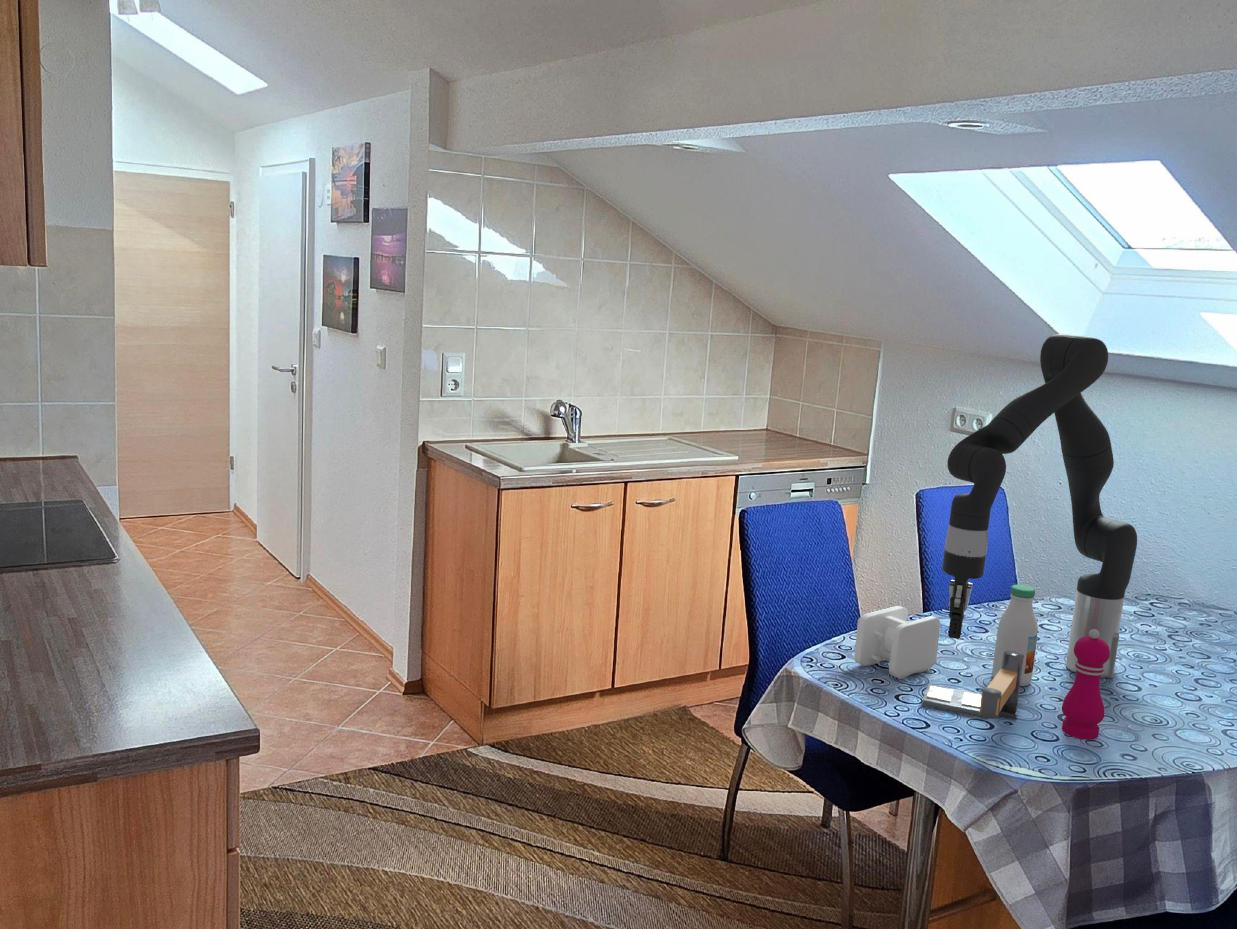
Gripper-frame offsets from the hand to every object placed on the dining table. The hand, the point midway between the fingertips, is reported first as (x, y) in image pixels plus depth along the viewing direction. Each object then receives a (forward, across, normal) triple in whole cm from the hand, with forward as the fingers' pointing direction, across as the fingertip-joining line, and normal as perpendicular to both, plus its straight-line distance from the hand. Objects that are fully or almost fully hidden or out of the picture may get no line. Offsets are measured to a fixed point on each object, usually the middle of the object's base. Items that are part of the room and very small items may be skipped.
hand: (954, 637), depth 201 cm
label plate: (+13, +1, -2) cm, 14 cm away
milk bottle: (+13, +20, -11) cm, 26 cm away
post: (+13, 0, -11) cm, 17 cm away
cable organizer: (+14, +14, +12) cm, 23 cm away
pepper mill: (+14, -2, -24) cm, 28 cm away
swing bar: (+8, -10, -9) cm, 16 cm away
